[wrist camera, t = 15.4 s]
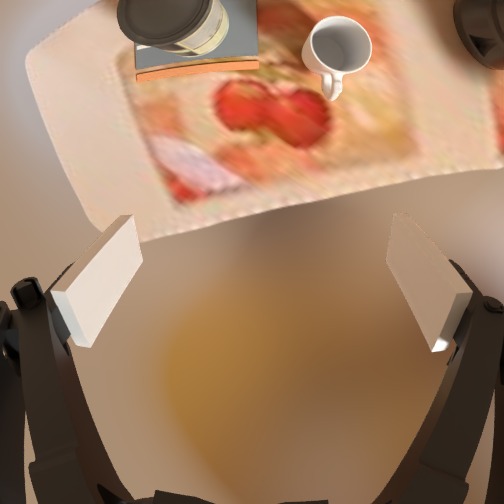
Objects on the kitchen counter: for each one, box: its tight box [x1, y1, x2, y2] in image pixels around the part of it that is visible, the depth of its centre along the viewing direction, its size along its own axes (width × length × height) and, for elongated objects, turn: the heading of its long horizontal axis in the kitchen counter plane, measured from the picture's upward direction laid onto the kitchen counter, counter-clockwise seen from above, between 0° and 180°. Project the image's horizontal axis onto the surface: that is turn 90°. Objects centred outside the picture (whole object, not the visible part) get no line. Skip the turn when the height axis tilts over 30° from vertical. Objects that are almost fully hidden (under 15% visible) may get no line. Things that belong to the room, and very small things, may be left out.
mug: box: [302, 16, 372, 101], centre depth 31 cm, size 10×7×12 cm, turn 179°
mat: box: [135, 0, 258, 69], centre depth 34 cm, size 18×11×1 cm, turn 92°
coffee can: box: [117, 0, 229, 57], centre depth 28 cm, size 10×10×14 cm
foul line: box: [137, 61, 259, 82], centre depth 38 cm, size 18×1×1 cm, turn 92°
